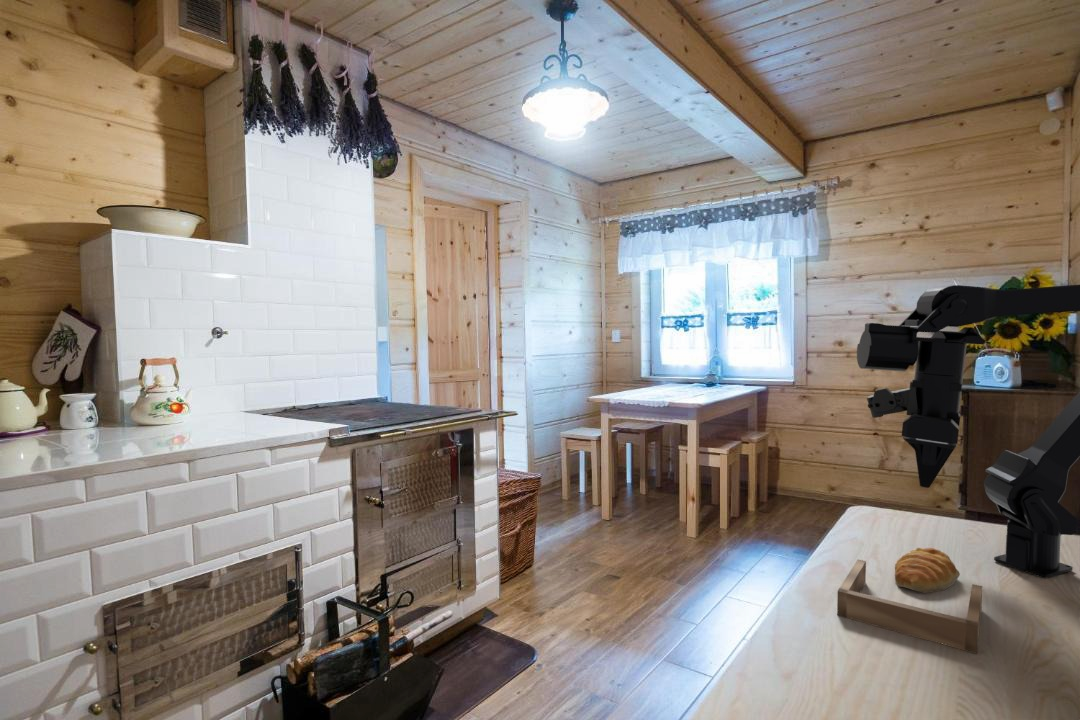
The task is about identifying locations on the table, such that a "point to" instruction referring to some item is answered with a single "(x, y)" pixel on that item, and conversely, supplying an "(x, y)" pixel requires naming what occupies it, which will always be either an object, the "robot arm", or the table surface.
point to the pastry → (925, 570)
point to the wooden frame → (909, 614)
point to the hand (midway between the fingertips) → (926, 480)
